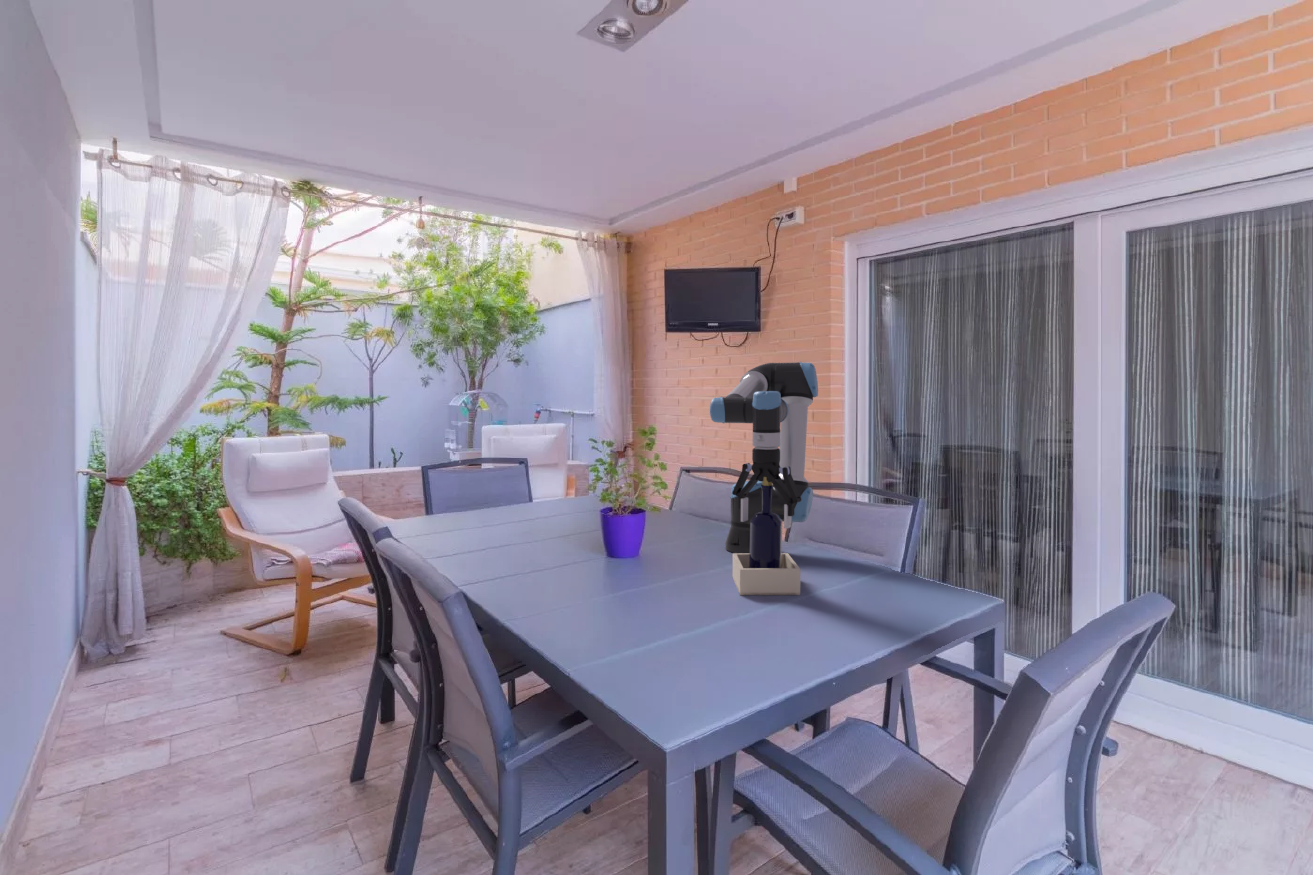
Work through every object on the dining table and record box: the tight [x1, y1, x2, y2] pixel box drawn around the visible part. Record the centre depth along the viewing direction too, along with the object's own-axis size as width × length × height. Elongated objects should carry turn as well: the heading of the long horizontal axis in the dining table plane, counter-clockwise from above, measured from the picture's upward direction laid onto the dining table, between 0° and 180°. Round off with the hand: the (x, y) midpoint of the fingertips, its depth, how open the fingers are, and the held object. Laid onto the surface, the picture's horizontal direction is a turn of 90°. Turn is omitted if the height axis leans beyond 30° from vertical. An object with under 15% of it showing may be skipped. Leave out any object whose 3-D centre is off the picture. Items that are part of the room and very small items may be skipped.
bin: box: [732, 552, 802, 596], centre depth 175 cm, size 16×16×7 cm
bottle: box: [749, 477, 783, 568], centre depth 174 cm, size 9×9×30 cm
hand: (765, 524), depth 174 cm, fingers open, 13 cm apart
